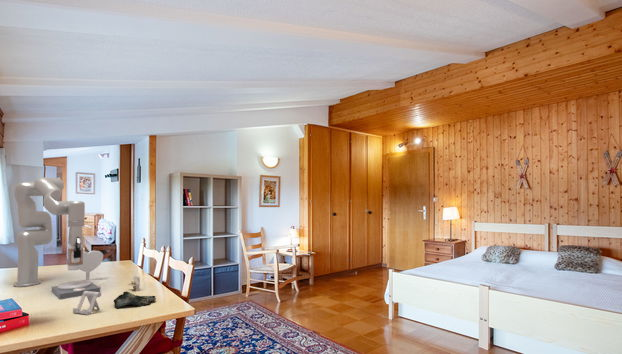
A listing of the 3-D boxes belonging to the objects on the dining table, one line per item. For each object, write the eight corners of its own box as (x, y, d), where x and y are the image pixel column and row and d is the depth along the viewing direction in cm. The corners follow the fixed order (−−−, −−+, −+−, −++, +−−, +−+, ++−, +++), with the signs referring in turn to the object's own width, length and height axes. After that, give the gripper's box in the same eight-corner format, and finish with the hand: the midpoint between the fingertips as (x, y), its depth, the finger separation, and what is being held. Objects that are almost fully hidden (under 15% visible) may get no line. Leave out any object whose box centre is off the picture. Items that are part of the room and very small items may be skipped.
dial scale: (51, 291, 198) (51, 284, 199) (89, 285, 211) (89, 279, 211) (59, 299, 182) (59, 291, 183) (100, 292, 195) (100, 285, 195)
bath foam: (67, 271, 194) (68, 233, 195) (67, 269, 200) (68, 232, 201) (82, 269, 198) (83, 232, 199) (82, 267, 204) (83, 231, 205)
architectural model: (133, 292, 196) (133, 278, 196) (127, 290, 200) (127, 276, 201) (139, 291, 199) (139, 277, 199) (133, 289, 203) (133, 275, 203)
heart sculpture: (101, 278, 228) (102, 249, 229) (102, 280, 224) (103, 250, 225) (71, 282, 219) (72, 252, 220) (72, 284, 215) (73, 253, 216)
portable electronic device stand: (72, 313, 160) (73, 294, 160) (89, 308, 167) (89, 289, 168) (87, 315, 157) (87, 295, 157) (103, 310, 164) (103, 291, 165)
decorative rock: (153, 289, 187) (161, 292, 175) (153, 301, 186) (160, 306, 174) (111, 292, 176) (117, 296, 164) (110, 305, 175) (115, 311, 163)
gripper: (64, 223, 204) (63, 256, 203) (71, 225, 192) (70, 259, 191) (80, 223, 209) (79, 254, 208) (88, 224, 197) (87, 257, 196)
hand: (75, 256), depth 199 cm, fingers closed on bath foam, 7 cm apart
